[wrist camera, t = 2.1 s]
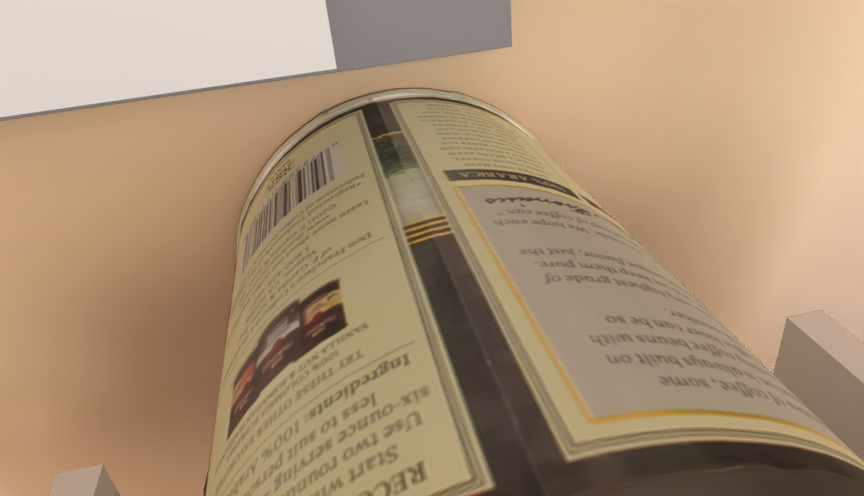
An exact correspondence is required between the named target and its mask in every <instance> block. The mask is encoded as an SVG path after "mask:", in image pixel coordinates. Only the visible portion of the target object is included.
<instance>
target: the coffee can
mask: <svg viewBox="0 0 864 496" xmlns="http://www.w3.org/2000/svg"><path fill="white" fill-rule="evenodd" d="M236 258H237V260H236V266H235V275H234V283H233V290H232V299H231V306H230V312H229V322H228V328H227V335H226V344H225V352H224V360H223V367H222V375H221V382H220V389H219V397H218V404H217V411H216V418H215V425H214V431H213V438H212V446H211V453H210V461H209V469H208V473H207V478H206V482H205V487H204V496H864V462H863V461H862V460H861V459H860V458H859V457H858V456H857V455H856V454H855V453H854V452H853V451H852V450H851V449H850V448H849V447H848V446H847V445H846V444H845V443H844V442H843V441H841V440H840V439H839V438H838V437H837V436H836V435H835V434H834V433H833V432H832V431H831V430H830V429H829V428H828V427H827V426H826V425H825V424H824V423H823V422H822V421H821V420H820V419H819V418H818V417H817V416H816V415H815V414H814V413H813V412H812V411H811V410H810V409H808V408H807V407H806V406H805V405H804V404H803V403H802V402H801V401H800V400H799V399H798V398H797V397H796V396H795V395H794V394H793V393H792V392H791V391H790V390H789V389H788V388H787V387H786V386H785V385H784V384H782V383H781V382H780V381H779V380H778V379H777V378H776V377H775V376H774V375H773V374H772V373H771V372H770V371H769V370H768V369H767V368H766V367H765V366H764V365H763V364H762V363H761V362H760V361H759V360H758V359H757V358H756V357H755V356H754V355H753V354H752V353H751V352H750V351H749V350H748V349H747V348H746V347H745V346H744V345H743V344H742V343H741V342H740V341H739V340H738V339H737V338H736V337H735V336H734V335H733V334H732V333H730V332H729V331H728V330H727V329H726V328H725V327H724V326H723V325H722V324H721V323H720V322H719V321H718V320H717V319H716V318H715V317H714V316H713V315H712V314H711V313H710V312H709V311H708V310H707V309H706V308H705V307H704V306H703V305H702V304H701V303H700V302H699V301H698V300H697V299H696V298H695V297H694V296H693V295H692V294H690V293H689V292H688V291H687V290H686V289H685V288H684V287H683V286H682V285H681V284H680V283H679V282H678V281H677V280H676V279H675V278H674V277H673V276H672V275H671V274H670V273H669V272H668V271H667V270H666V269H665V268H664V267H663V266H662V265H661V264H660V263H659V262H658V261H657V260H656V259H655V258H654V257H653V256H651V255H650V254H649V253H648V252H647V251H646V250H645V249H644V248H643V247H642V246H641V245H640V244H639V243H638V242H637V241H636V240H635V239H634V238H633V237H632V236H631V235H630V234H629V233H628V232H627V231H626V230H625V229H624V228H623V227H622V226H621V225H620V224H619V223H618V222H617V221H615V220H614V219H613V218H612V217H611V216H610V215H609V214H608V213H607V212H606V211H605V210H604V209H603V208H602V207H601V206H600V205H599V204H598V203H597V202H596V201H595V200H594V199H593V198H592V197H591V196H590V195H589V194H588V193H587V192H586V191H585V190H584V189H583V188H582V187H581V186H580V185H579V184H578V183H577V182H576V181H575V180H574V179H573V178H572V177H571V176H570V175H569V174H568V173H567V172H565V171H564V170H563V169H562V168H561V167H560V166H559V165H558V164H557V163H556V162H555V161H554V160H553V159H552V158H551V157H550V156H549V155H548V153H547V152H546V150H545V149H544V148H543V146H542V145H541V144H540V143H539V141H538V140H537V139H536V138H535V137H534V136H533V135H532V134H531V133H530V132H529V131H528V130H527V129H525V128H524V127H523V125H522V124H521V123H519V122H518V121H516V120H515V119H513V118H512V117H510V116H509V115H508V114H506V113H504V112H502V111H501V110H499V109H497V108H495V107H493V106H491V105H489V104H487V103H485V102H482V101H479V100H477V99H474V98H472V97H469V96H467V95H465V94H462V93H456V92H445V91H439V90H434V89H398V90H389V91H384V92H379V93H374V94H369V95H366V96H363V97H360V98H356V99H353V100H351V101H348V102H346V103H343V104H341V105H338V106H336V107H334V108H333V109H331V110H329V111H326V112H323V113H321V114H319V115H318V116H317V117H316V118H314V119H313V120H312V121H310V122H309V123H307V124H306V125H305V126H303V127H302V128H301V129H300V130H298V131H297V132H296V133H295V134H293V135H292V136H291V137H290V138H289V139H288V140H287V141H286V142H285V143H284V144H283V145H282V146H281V147H280V148H279V149H278V150H277V151H276V152H275V153H274V155H273V156H272V157H271V158H270V159H269V161H268V162H267V164H266V165H265V167H264V168H263V169H262V171H261V172H260V174H259V175H258V177H257V179H256V181H255V183H254V184H253V186H252V188H251V190H250V192H249V194H248V197H247V200H246V202H245V205H244V207H243V210H242V215H241V217H240V220H239V224H238V232H237V245H236Z"/></svg>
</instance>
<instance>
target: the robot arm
mask: <svg viewBox="0 0 864 496" xmlns="http://www.w3.org/2000/svg"><path fill="white" fill-rule="evenodd" d="M773 375H774V376H775V377H776V378H777V379H778V380H779V381H780V382H781V383H782V384H784V385H785V386H786V387H787V388H788V389H789V390H790V391H791V392H792V393H793V394H794V395H795V396H796V397H797V398H798V399H799V400H800V401H801V402H802V403H803V404H804V405H805V406H806V407H807V408H808V409H810V410H811V411H812V412H813V413H814V414H815V415H816V416H817V417H818V418H819V419H820V420H821V421H822V422H823V423H824V424H825V425H826V426H827V427H828V428H829V429H830V430H831V431H832V432H833V433H834V434H835V435H836V436H837V437H838V438H839V439H840V440H841V441H843V442H844V443H845V444H846V445H847V446H848V447H849V448H850V449H851V450H852V451H853V452H854V453H855V454H856V455H857V456H858V457H859V458H860V459H861V460H862V461H863V462H864V343H863V342H861V341H860V340H859V339H858V338H856V337H855V336H854V335H852V334H851V333H850V332H849V331H847V330H846V329H845V328H844V327H842V326H841V325H840V324H839V323H837V322H836V321H835V320H834V319H832V318H831V317H830V316H829V315H827V314H826V313H825V312H824V311H822V310H819V311H815V312H810V313H805V314H801V315H796V316H791V317H787V320H786V324H785V328H784V332H783V336H782V340H781V344H780V349H779V353H778V357H777V361H776V365H775V369H774V373H773ZM49 496H120V495H119V493H118V491H117V489H116V487H115V485H114V484H113V482H112V480H111V478H110V476H109V474H108V472H107V470H106V468H105V467H104V465H103V464H101V465H96V466H91V467H87V468H82V469H77V470H73V471H68V472H63V473H59V474H57V475H56V478H55V480H54V483H53V485H52V488H51V491H50V493H49Z"/></svg>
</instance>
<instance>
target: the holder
mask: <svg viewBox="0 0 864 496" xmlns="http://www.w3.org/2000/svg"><path fill="white" fill-rule="evenodd" d="M506 47H512V34H511V2H510V0H0V121H3V120H10V119H17V118H24V117H31V116H37V115H44V114H51V113H58V112H65V111H72V110H79V109H86V108H93V107H99V106H106V105H113V104H120V103H127V102H134V101H141V100H148V99H155V98H161V97H168V96H175V95H182V94H189V93H196V92H203V91H210V90H216V89H223V88H230V87H237V86H244V85H251V84H258V83H265V82H272V81H278V80H285V79H292V78H299V77H306V76H313V75H320V74H327V73H334V72H340V71H347V70H354V69H361V68H368V67H375V66H382V65H389V64H396V63H402V62H409V61H416V60H423V59H430V58H437V57H444V56H451V55H457V54H464V53H471V52H478V51H485V50H492V49H499V48H506Z"/></svg>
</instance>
